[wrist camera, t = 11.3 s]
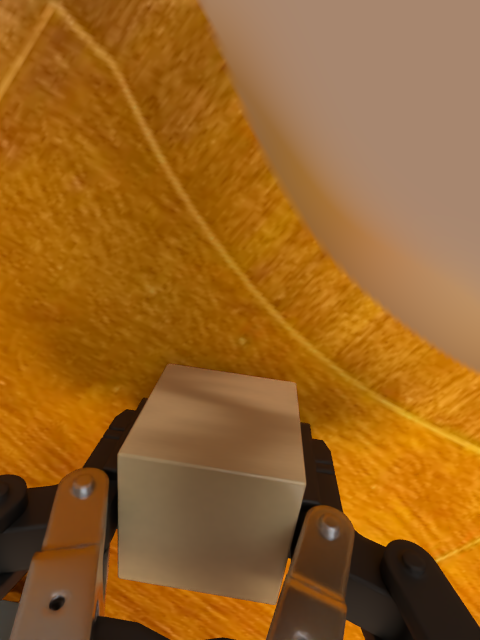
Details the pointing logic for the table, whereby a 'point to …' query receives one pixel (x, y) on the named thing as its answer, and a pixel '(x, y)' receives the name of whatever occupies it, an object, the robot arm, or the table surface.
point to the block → (211, 484)
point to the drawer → (7, 618)
